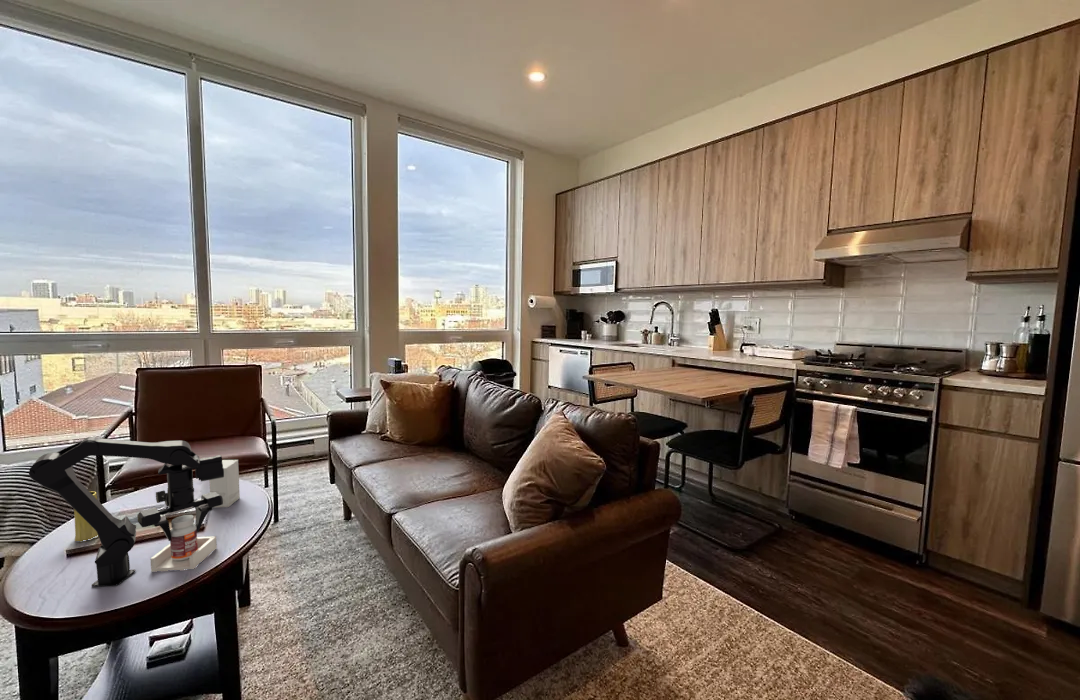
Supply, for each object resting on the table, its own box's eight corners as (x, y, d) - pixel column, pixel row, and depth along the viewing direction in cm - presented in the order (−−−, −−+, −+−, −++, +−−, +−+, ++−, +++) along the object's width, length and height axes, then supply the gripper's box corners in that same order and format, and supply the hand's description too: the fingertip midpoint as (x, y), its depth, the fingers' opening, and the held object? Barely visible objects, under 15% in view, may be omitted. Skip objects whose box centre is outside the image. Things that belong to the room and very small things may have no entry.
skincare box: (223, 498, 170) (221, 459, 169) (241, 497, 171) (239, 459, 169) (209, 508, 162) (207, 467, 160) (228, 507, 163) (226, 467, 161)
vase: (73, 544, 137) (69, 500, 135) (76, 536, 141) (72, 494, 140) (101, 538, 141) (97, 495, 139) (102, 530, 145) (99, 489, 144)
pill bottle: (189, 560, 127) (187, 523, 126) (166, 561, 127) (163, 524, 125) (202, 549, 134) (200, 513, 132) (180, 550, 133) (178, 514, 132)
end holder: (194, 569, 126) (193, 556, 125) (151, 572, 124) (150, 558, 124) (216, 548, 136) (216, 536, 136) (177, 550, 135) (177, 537, 135)
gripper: (209, 469, 140) (212, 515, 142) (131, 487, 125) (134, 539, 127) (222, 478, 133) (224, 527, 135) (140, 498, 119) (144, 553, 120)
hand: (183, 535), depth 129 cm, fingers closed on pill bottle, 6 cm apart
